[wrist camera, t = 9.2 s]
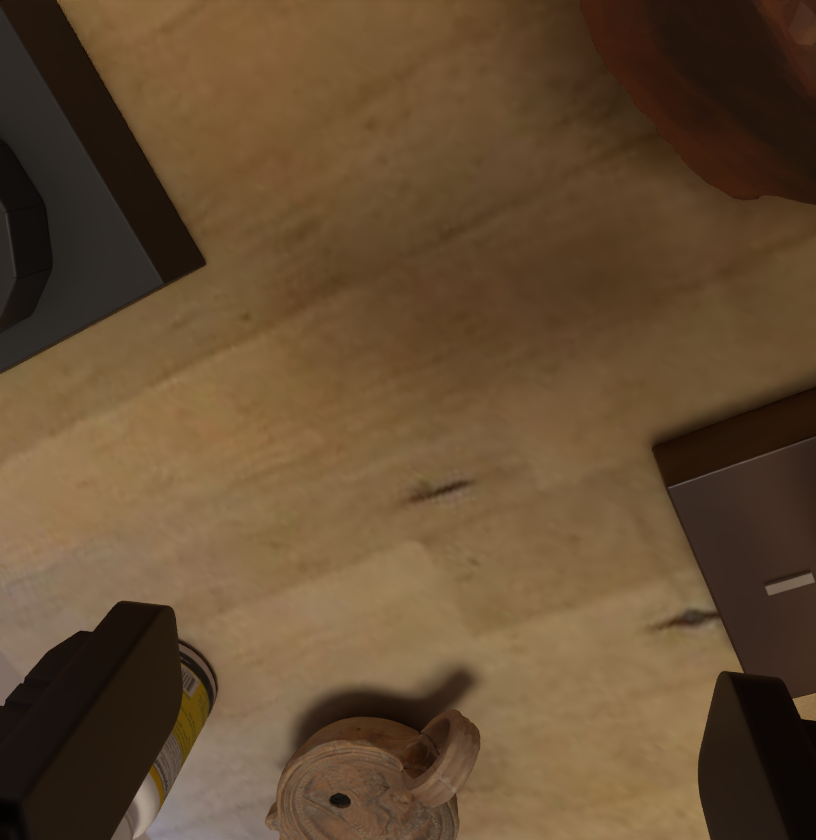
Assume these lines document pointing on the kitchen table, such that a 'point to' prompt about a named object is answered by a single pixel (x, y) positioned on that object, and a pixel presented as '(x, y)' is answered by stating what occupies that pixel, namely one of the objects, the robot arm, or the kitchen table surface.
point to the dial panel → (755, 531)
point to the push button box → (71, 193)
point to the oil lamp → (376, 781)
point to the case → (721, 85)
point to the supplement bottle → (172, 746)
